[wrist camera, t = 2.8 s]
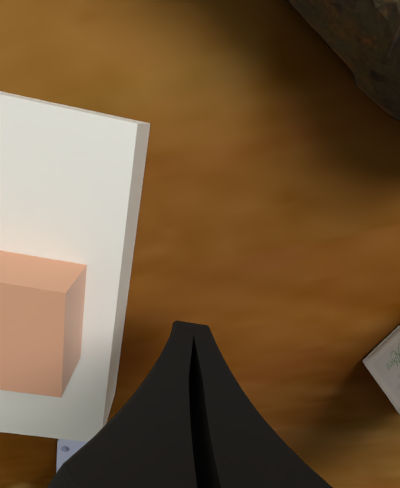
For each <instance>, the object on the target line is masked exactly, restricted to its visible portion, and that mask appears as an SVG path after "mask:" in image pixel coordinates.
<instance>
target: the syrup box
mask: <svg viewBox="0 0 400 488" xmlns="http://www.w3.org/2000/svg"><path fill="white" fill-rule="evenodd" d="M363 363H364V365H365V366H366V368H367V369H368V371H369V372H370V373H371V375H372V376H373V377H374V379H375V380H376V382H377V383H378V385H379V386H380V387H381V389H382V390H383V392H384V393H385V394H386V396H387V397H388V399H389V400H390V402H391V403H392V404H393V406H394V407H395V409H396V410H397V412H398V413H399V414H400V325H399V326H398V327H397V328H396V329H395V330H394V331H393V332H392V333H391V334H390V335H389V336H387V337H386V338H385V339H384V340H383V341H382V342H381V343H380V344H379V345H378V346H377V347H376V348H375V349H374V350H373V351H372V352H371V353H370V354H369V355H368V356H367V357H366V358H364V359H363Z"/></svg>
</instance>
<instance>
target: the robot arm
mask: <svg viewBox="0 0 400 488" xmlns="http://www.w3.org/2000/svg"><path fill="white" fill-rule="evenodd" d="M47 488H332V487H331V486H330V485H329V484H328V483H327V482H326V481H325V480H323V479H322V478H321V477H320V476H319V475H318V474H317V473H315V472H314V471H313V470H312V469H311V468H310V467H309V466H308V465H307V464H305V463H304V462H303V461H302V460H301V459H300V458H299V457H298V456H297V455H296V454H295V453H294V452H293V451H292V450H291V449H290V448H289V447H288V446H287V445H286V443H285V442H284V441H283V440H282V439H281V438H280V437H279V436H278V435H277V434H276V432H275V431H274V430H273V429H272V428H271V427H270V426H269V425H268V423H267V422H266V421H265V420H264V419H263V418H262V416H261V415H260V414H259V413H258V411H257V410H256V409H255V407H254V406H253V405H252V403H251V402H250V400H249V399H248V398H247V396H246V395H245V393H244V392H243V390H242V389H241V387H240V386H239V384H238V382H237V381H236V379H235V378H234V376H233V374H232V373H231V371H230V369H229V367H228V366H227V364H226V362H225V360H224V358H223V356H222V354H221V352H220V350H219V348H218V346H217V344H216V342H215V340H214V338H213V335H212V333H211V331H210V328H209V327H208V326H207V325H201V324H194V323H188V322H182V321H175V322H174V323H173V327H172V331H171V334H170V337H169V339H168V341H167V344H166V345H165V347H164V349H163V351H162V353H161V355H160V357H159V358H158V360H157V362H156V363H155V365H154V366H153V368H152V370H151V371H150V373H149V374H148V376H147V377H146V378H145V380H144V381H143V383H142V384H141V385H140V387H139V388H138V389H137V390H136V392H135V393H134V394H133V395H132V397H131V398H130V399H129V400H128V401H127V402H126V404H125V405H124V406H123V407H122V408H121V409H120V411H119V412H118V413H117V414H116V415H115V416H114V417H113V418H112V419H111V420H110V421H109V422H108V423H107V424H106V425H105V426H104V427H103V428H102V429H101V430H100V431H99V432H98V433H97V434H96V435H95V436H94V437H93V438H92V439H91V440H90V441H88V442H83V441H74V440H66V439H58V441H57V463H56V474H55V476H54V477H53V479H52V480H51V482H50V483H49V485H48V487H47Z"/></svg>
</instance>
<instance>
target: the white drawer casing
mask: <svg viewBox="0 0 400 488" xmlns="http://www.w3.org/2000/svg"><path fill="white" fill-rule="evenodd" d="M149 130H150V123H146V122H141V121H137V120H132V119H127V118H123V117H118V116H113V115H109V114H104V113H99V112H95V111H90V110H85V109H81V108H76V107H71V106H67V105H62V104H57V103H53V102H48V101H43V100H39V99H34V98H29V97H25V96H20V95H15V94H11V93H6V92H1V91H0V250H1V251H7V252H13V253H19V254H25V255H31V256H37V257H43V258H49V259H55V260H61V261H67V262H73V263H79V264H84V265H87V271H86V286H85V300H84V314H83V329H82V343H81V358H80V360H79V362H78V364H77V366H76V368H75V370H74V372H73V375H72V377H71V379H70V381H69V383H68V385H67V387H66V389H65V391H64V393H63V395H62V397H61V398H60V397H52V396H45V395H37V394H29V393H21V392H13V391H5V390H0V432H5V433H13V434H22V435H31V436H40V437H48V438H57V439H66V440H74V441H83V442H88V441H90V440H91V439H92V438H93V437H94V436H95V435H96V434H97V433H98V432H99V431H100V430H101V429H102V428H103V427H104V426H105V425H106V423H107V419H108V416H109V412H110V409H111V406H112V402H113V399H114V395H115V391H116V383H117V375H118V368H119V360H120V352H121V345H122V337H123V329H124V322H125V314H126V306H127V299H128V291H129V283H130V276H131V268H132V260H133V253H134V245H135V238H136V230H137V222H138V215H139V207H140V199H141V192H142V184H143V176H144V169H145V161H146V153H147V146H148V138H149Z"/></svg>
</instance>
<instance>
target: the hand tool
mask: <svg viewBox="0 0 400 488" xmlns="http://www.w3.org/2000/svg"><path fill="white" fill-rule="evenodd" d="M287 1H288V2H289V3H290V4H291V5H292V6H293V7H294V8H295V9H296V10H297V11H298V13H299V14H300V15H301V16H302V17H303V18H304V19H305V20H306V22H307V23H308V24H309V25H310V26H311V27H312V28H313V29H314V30H315V31H316V32H317V33H318V34H319V35H320V36H321V37H322V38H323V39H324V40H325V41H326V43H327V44H328V45H329V46H330V47H331V48H332V50H333V51H334V52H335V53H336V54H337V55H338V56H339V57H340V58H341V59H342V60H343V61H344V62H345V63H346V64H347V65H348V66H349V68H350V70H351V72H352V73H353V75H354V77H355V85H356V86H357V87H358V88H359V89H360V90H361V91H362V92H363V93H364V94H365V95H366V96H367V97H369V98H370V99H371V100H372V101H373V102H374V103H375V104H376V105H378V106H379V107H380V108H382V109H383V110H384V111H385V112H387V113H388V114H389V115H391V116H392V117H393V118H395V119H396V120H400V0H287Z"/></svg>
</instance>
